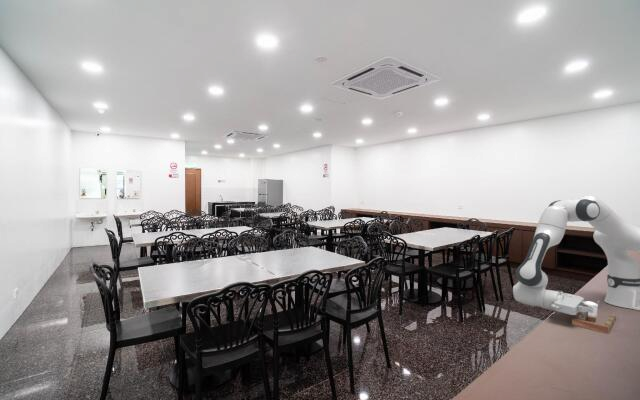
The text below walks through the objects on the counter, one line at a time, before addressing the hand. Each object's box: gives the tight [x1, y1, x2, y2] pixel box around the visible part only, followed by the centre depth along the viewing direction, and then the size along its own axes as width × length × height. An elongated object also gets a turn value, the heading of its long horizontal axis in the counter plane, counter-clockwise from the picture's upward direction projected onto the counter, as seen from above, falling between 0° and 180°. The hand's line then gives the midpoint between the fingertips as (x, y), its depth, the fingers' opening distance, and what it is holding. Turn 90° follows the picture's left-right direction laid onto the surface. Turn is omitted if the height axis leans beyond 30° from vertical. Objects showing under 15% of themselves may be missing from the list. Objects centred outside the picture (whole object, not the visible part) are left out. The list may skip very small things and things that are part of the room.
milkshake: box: [584, 299, 600, 324], centre depth 128 cm, size 4×5×10 cm
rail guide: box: [571, 311, 617, 334], centre depth 132 cm, size 24×11×2 cm, turn 130°
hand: (594, 309), depth 128 cm, fingers closed on milkshake, 4 cm apart
